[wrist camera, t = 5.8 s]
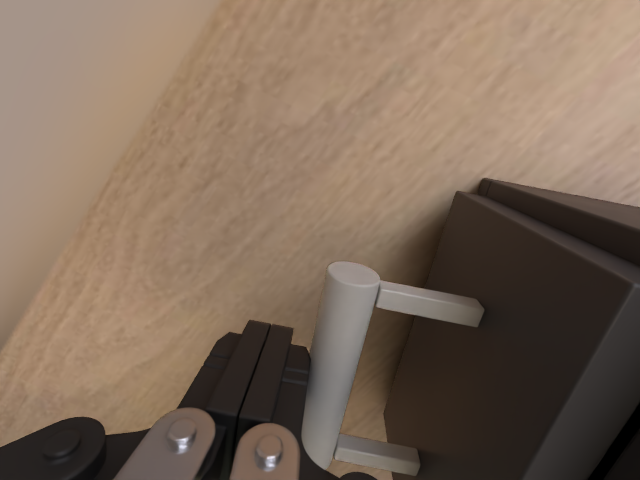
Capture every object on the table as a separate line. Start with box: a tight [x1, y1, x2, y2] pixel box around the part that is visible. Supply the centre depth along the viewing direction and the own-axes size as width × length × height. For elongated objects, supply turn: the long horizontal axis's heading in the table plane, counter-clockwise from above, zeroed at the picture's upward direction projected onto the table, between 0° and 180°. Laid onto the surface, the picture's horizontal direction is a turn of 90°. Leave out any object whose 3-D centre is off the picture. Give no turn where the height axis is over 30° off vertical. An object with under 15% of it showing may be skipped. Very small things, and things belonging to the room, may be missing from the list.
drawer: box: [301, 191, 640, 480], centre depth 10 cm, size 18×11×8 cm, turn 80°
